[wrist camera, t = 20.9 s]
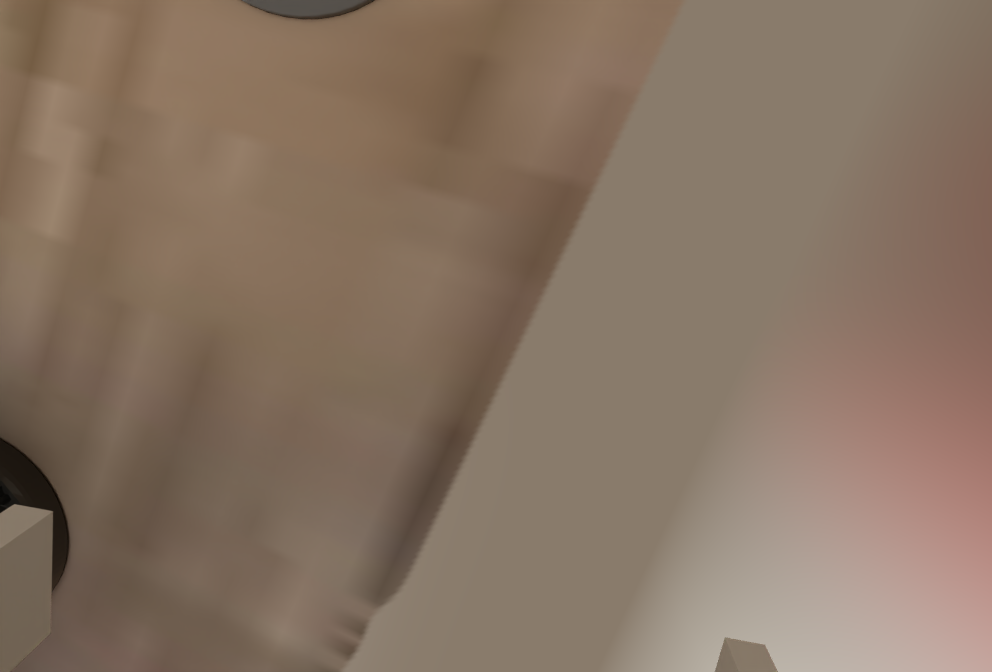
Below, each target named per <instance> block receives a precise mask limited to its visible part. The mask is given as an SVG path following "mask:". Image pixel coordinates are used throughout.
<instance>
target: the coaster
mask: <svg viewBox="0 0 992 672" xmlns="http://www.w3.org/2000/svg"><path fill="white" fill-rule="evenodd" d="M242 1H244V2H246V3H248V4H250V5H251V6H254V7H256V8H259V9H261V10H263V11H266V12H268V13H272V14H276V15H280V16H284V17H290V18H299V19H322V18H327V17H333V16H339V15H342V14H345V13H348V12H351V11H354V10H357V9H359V8H361V7H363V6H365V5H367V4H369V3H371V2H373V1H374V0H242Z"/></svg>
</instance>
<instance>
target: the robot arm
mask: <svg viewBox="0 0 992 672" xmlns="http://www.w3.org/2000/svg"><path fill="white" fill-rule="evenodd" d="M66 556H67V531H66V525H65V520H64V517H63V513H62V510H61V508H60V505H59V503H58V501H57V498H56V496H55V494H54V493H53V491H52V489H51V487H50V486H49V484H48V483H47V481H46V480H45V479H44V477H43V476H42V475H41V473H40V472H39V471H38V470H37V469H36V468H35V467H34V465H33V464H32V463H31V462H30V461H29V460H27V459H26V458H25V457H24V456H23V455H22V454H21V453H19V452H18V451H17V450H15V449H14V448H13V447H11V446H10V445H8V444H7V443H5V442H3V441H2V440H0V672H10V671H11V670H13V669H14V668H15V667H16V666H17V665H18V664H19V663H20V662H21V661H22V660H23V659H24V658H25V657H26V656H27V655H28V654H29V653H30V652H31V651H33V650H34V649H35V648H36V647H37V646H38V645H39V644H40V643H41V642H42V641H43V640H44V639H45V638H46V637H47V636H48V635H49V634H50V633H51V595H52V590H53V589H54V587H55V586H56V584H57V582H58V581H59V579H60V577H61V574H62V572H63V569H64V566H65V562H66ZM715 672H778V671H777V669H776V667H775V665H774V663H773V661H772V659H771V657H770V655H769V653H768V650H767V649H766V646H765V645H762V644H757V643H751V642H746V641H741V640H736V639H730V638H725V639H724V643H723V646H722V650H721V653H720V656H719V660H718V663H717V667H716V670H715Z"/></svg>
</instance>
